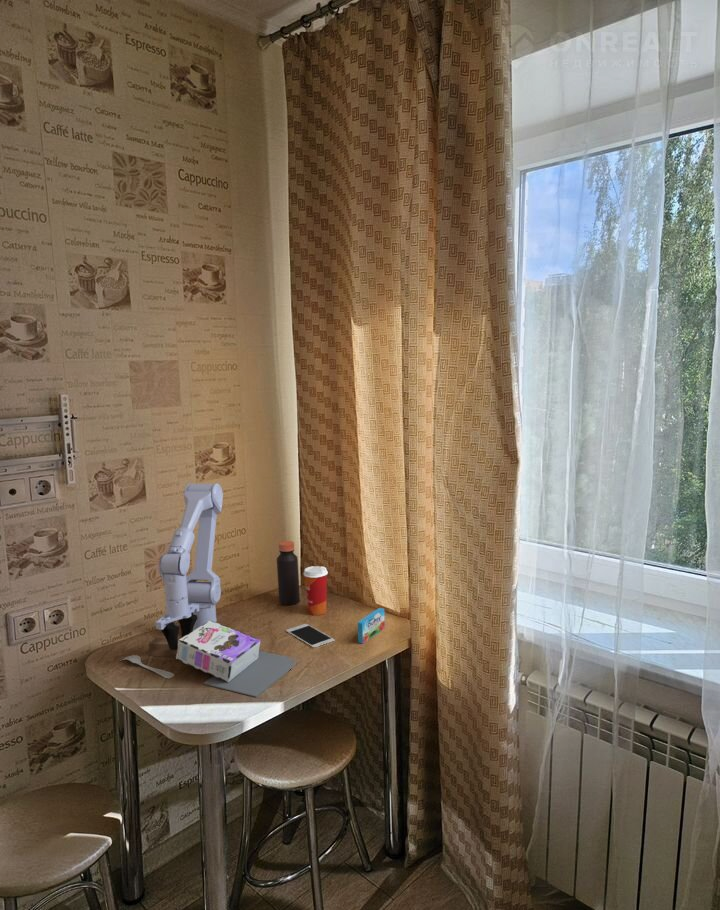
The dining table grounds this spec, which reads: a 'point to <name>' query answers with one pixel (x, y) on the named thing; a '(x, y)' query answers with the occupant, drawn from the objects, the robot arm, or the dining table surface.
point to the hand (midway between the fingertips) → (180, 645)
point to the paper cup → (316, 589)
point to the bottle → (288, 574)
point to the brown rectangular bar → (161, 648)
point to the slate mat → (256, 675)
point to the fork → (138, 660)
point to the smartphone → (310, 635)
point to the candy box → (218, 650)
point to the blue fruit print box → (371, 625)
